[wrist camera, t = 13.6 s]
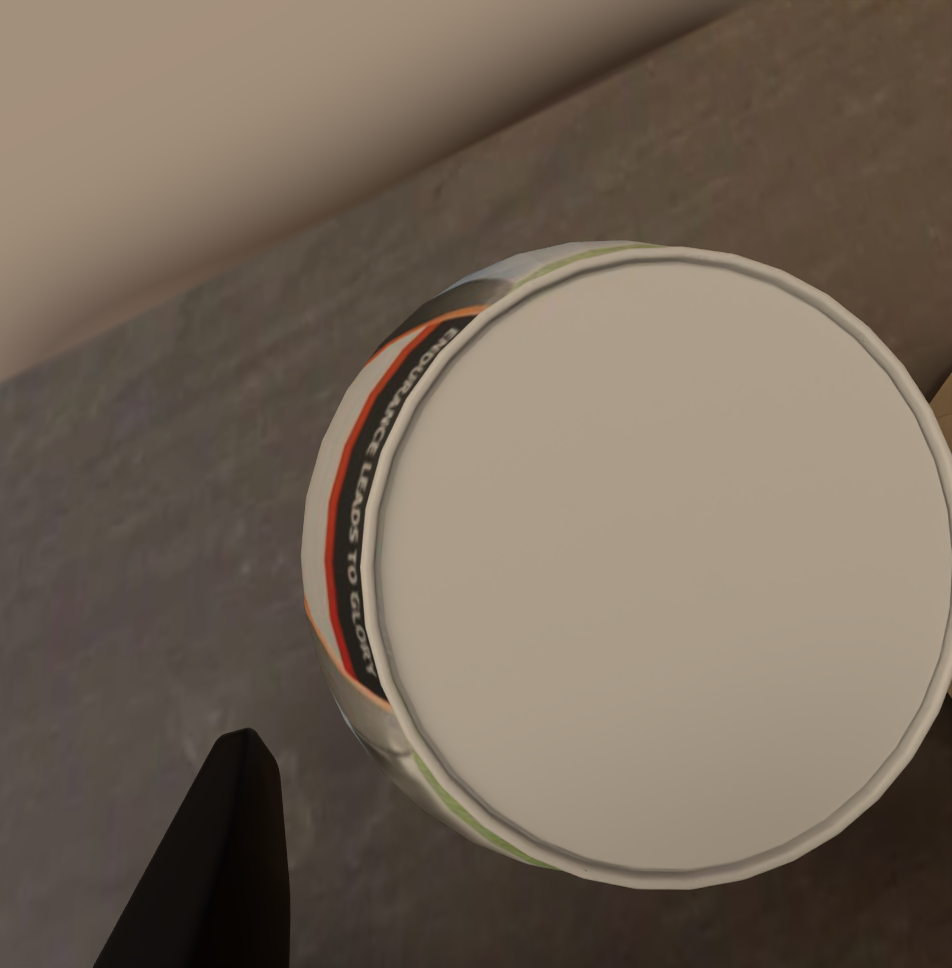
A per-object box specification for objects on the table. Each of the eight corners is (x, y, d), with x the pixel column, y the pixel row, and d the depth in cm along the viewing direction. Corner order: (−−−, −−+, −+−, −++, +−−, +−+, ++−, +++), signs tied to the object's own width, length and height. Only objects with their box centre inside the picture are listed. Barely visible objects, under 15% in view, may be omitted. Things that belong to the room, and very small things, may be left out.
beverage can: (408, 373, 17) (273, -46, 5) (688, 474, 17) (1194, 271, 5) (314, 613, 17) (-75, 742, 5) (605, 722, 16) (965, 1145, 5)
